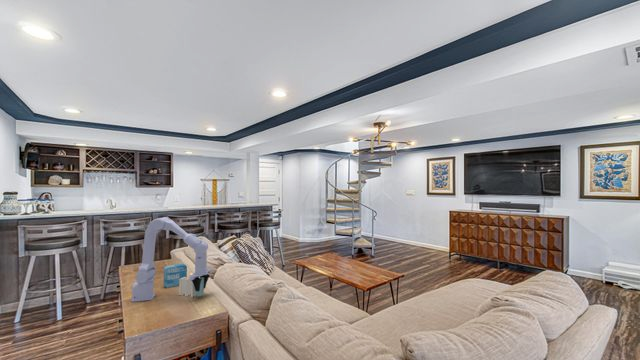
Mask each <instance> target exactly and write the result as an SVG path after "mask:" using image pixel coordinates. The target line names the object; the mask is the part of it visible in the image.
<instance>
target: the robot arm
mask: <svg viewBox="0 0 640 360" xmlns="http://www.w3.org/2000/svg"><path fill="white" fill-rule="evenodd" d="M144 230H145V231H144V239H143V249H142V250H143V251H142V256H141V257H142V259H141V264H140V265H139V267H138V271H137V273H136V274H135V280H136V282H133V285H132V289H131V302H133V303H134V302H143V301H144V302H145V301H152V300H154V298H155V296H156V294H155V293H154V287H155V286H154V284H155V283H154V279H155V277H156V275H157V270H156V264H155V263H154V260H155V250H156V249H155V248H156V241H157V240H156V239H157V234H158V233H160V232H161V231H171V232H173V233H174V234H175V235H178V236H179V237H180V238H181V239H183V243H185V244H186V245H187V246H188V247H190V248H191V249H193V251H194V253H195V259H194V260H195V262H194V263H195V264H194V273H193V274H191V275H189V276H188V277H189V280H192V282H193V284H194V287H195V291H199V290H200V283H201V280H202V279H200V278H202V277H204V290H205V289H206V286H207V283H208V280H209V279H210V277H211V275H210V274H211V273H212V269H210V268H207V258H208V257H207V253H208V252H207V250H208V249H209V244H208V242H206V241H205V240H204V241H203V239H200V238H198V237H197V236H196V234H195V233H188V232H187V231H185V230H184V229H183V227H181V226H179V224H177V223H176V222H175V221H174V220H173V219H171V218H170V217H167V216H163V217H158V218H154V219H153V220H152V221H150V222H149V225H148V226H147V227H146V229H144Z"/></svg>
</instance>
